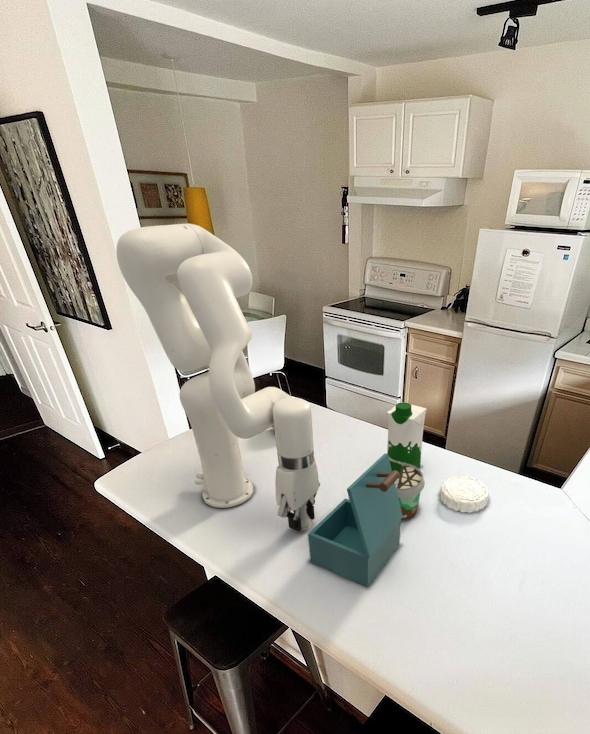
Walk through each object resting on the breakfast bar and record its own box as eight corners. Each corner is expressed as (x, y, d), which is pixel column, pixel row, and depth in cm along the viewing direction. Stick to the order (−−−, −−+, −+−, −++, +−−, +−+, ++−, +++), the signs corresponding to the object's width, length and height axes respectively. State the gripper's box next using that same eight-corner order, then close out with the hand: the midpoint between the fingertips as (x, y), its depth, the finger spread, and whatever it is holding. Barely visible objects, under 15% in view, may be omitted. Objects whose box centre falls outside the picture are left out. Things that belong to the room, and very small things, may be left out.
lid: (346, 489, 77) (372, 491, 74) (384, 453, 88) (408, 453, 85) (366, 556, 84) (390, 561, 81) (399, 516, 94) (422, 518, 91)
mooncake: (467, 519, 106) (469, 507, 104) (430, 497, 113) (431, 485, 111) (497, 500, 113) (499, 488, 110) (460, 479, 120) (461, 468, 118)
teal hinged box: (310, 561, 94) (307, 534, 90) (345, 524, 104) (345, 498, 100) (367, 587, 88) (367, 558, 84) (399, 545, 99) (401, 518, 94)
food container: (419, 527, 103) (422, 493, 98) (393, 524, 104) (394, 489, 99) (424, 497, 113) (427, 464, 108) (400, 494, 114) (402, 461, 109)
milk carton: (382, 471, 123) (383, 405, 112) (398, 457, 130) (401, 392, 118) (409, 480, 119) (414, 413, 108) (424, 465, 126) (430, 400, 114)
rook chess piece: (293, 520, 105) (290, 493, 101) (312, 519, 106) (310, 492, 101) (292, 532, 102) (289, 505, 97) (311, 531, 102) (309, 504, 97)
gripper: (305, 435, 100) (310, 499, 111) (255, 470, 88) (265, 538, 99) (333, 444, 97) (335, 509, 108) (284, 481, 85) (292, 550, 96)
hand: (301, 522), depth 103 cm, fingers closed on rook chess piece, 4 cm apart
